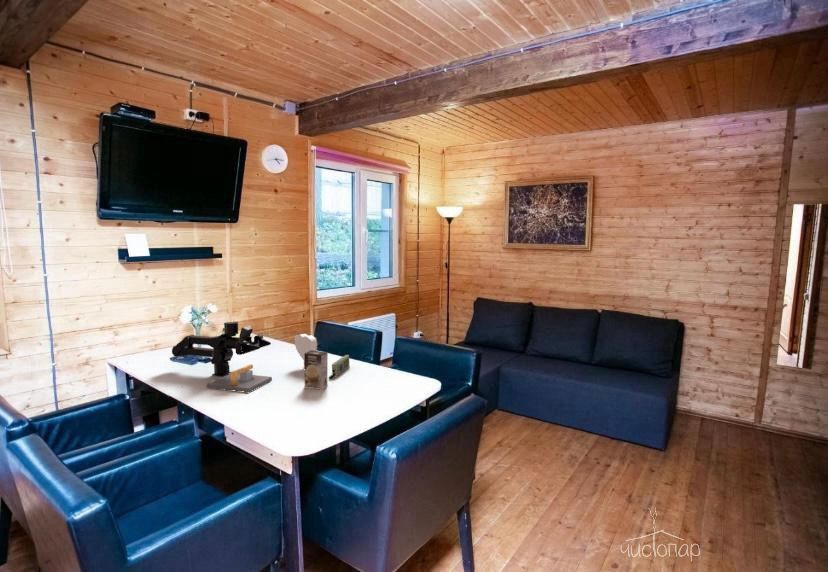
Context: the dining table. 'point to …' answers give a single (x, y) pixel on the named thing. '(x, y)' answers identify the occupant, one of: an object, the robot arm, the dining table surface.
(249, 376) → the plug
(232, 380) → the long orange beam
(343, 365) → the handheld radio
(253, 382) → the socket board
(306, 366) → the coffee box
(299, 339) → the heart sculpture
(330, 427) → the dining table surface
